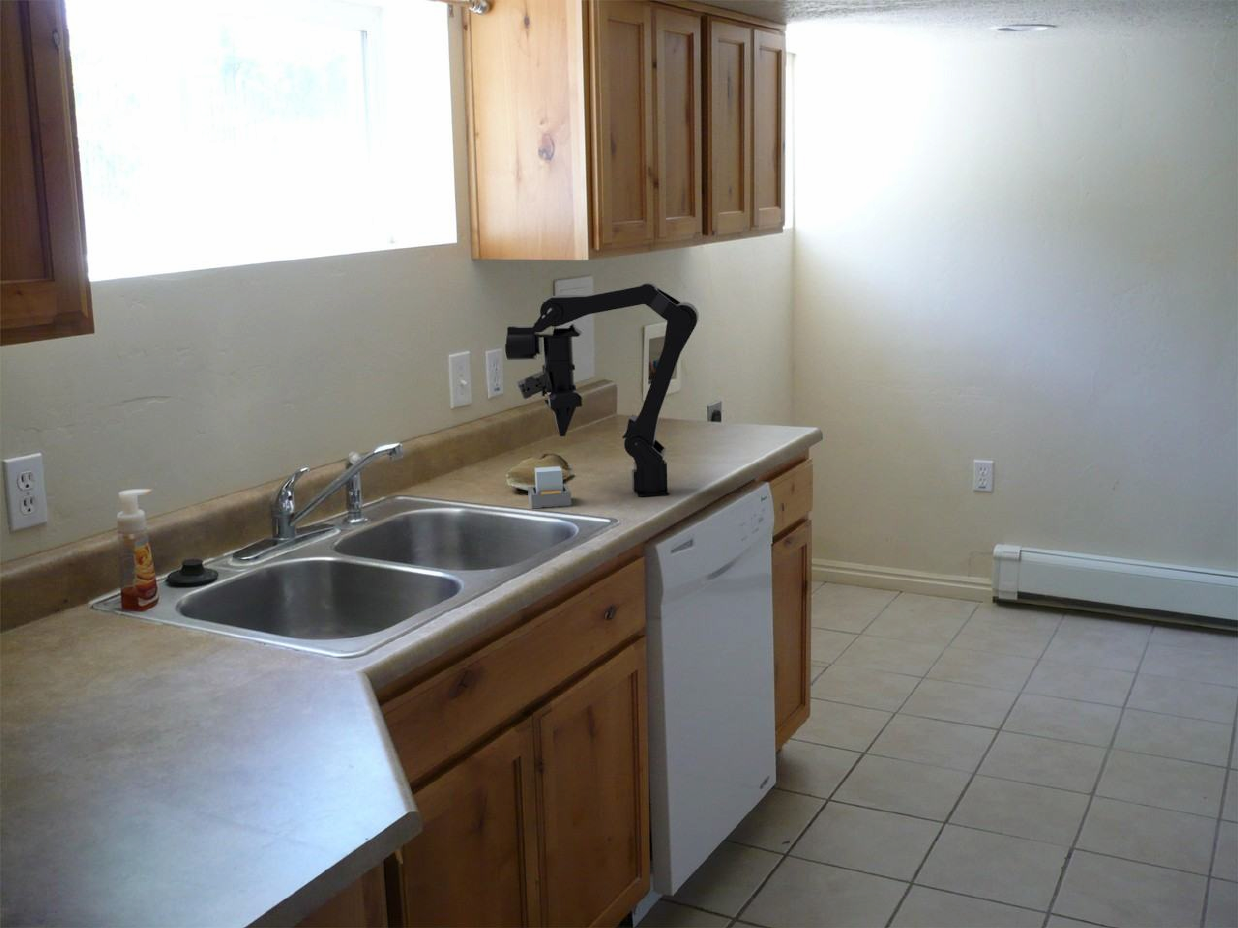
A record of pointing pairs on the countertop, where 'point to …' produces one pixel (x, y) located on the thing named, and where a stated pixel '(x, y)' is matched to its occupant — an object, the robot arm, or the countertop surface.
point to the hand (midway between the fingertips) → (562, 435)
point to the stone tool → (525, 471)
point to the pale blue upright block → (548, 479)
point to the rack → (549, 497)
